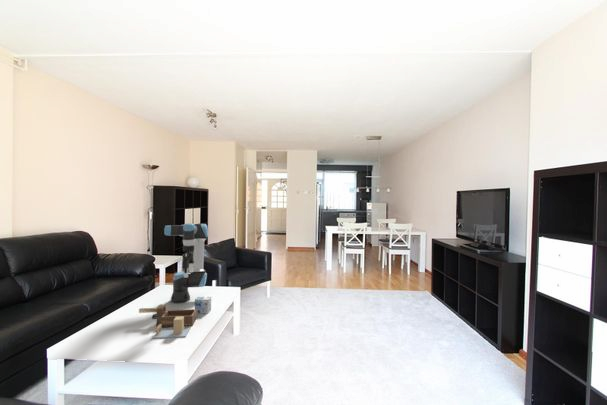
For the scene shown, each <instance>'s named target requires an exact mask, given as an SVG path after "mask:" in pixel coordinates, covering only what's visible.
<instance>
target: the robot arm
mask: <svg viewBox="0 0 607 405" xmlns="http://www.w3.org/2000/svg"><path fill="white" fill-rule="evenodd" d="M163 231H164V235H165V236H169V237H170V236H171V237H172V236H180V237H182V241H181V242H182V244H183V246H182V251H183V252H185V253H184V254H183V255H184V257H183V263H182V268H181V269H183V271H179V272H177V273H174V274H173V279H172V283H173V284H172V293H171V297H170V302H171V303H174V304H181V303H185V302H188V301H190V300H191V295H190V293H189V288H204V287H205V285H206V283H207V278H208V273H207V272H206V270H205V269H204V261H205V259H204V258H205V241H206V240H207V238H208V237H209V229H208V225H207V224H206V223H184V224H181V225H179V224H178V225H177V224H173V225H171V224H169V225H165V226H164V229H163Z"/></svg>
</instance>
